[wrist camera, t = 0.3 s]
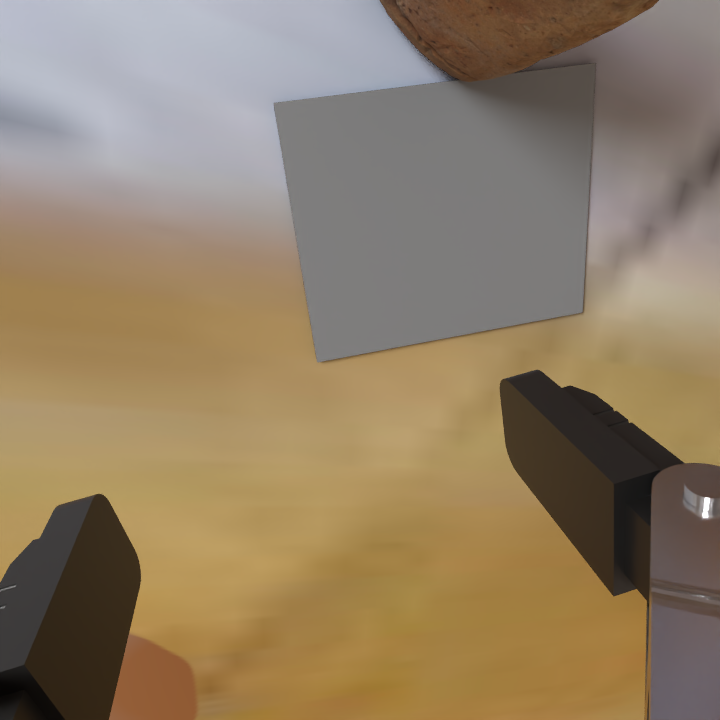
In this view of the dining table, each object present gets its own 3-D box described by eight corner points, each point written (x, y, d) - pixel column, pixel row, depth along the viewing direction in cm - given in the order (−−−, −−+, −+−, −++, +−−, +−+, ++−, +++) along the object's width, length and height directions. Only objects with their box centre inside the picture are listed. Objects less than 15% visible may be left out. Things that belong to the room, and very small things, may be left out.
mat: (273, 103, 34) (273, 102, 33) (591, 63, 37) (596, 62, 36) (316, 359, 41) (317, 362, 41) (579, 310, 44) (582, 312, 43)
